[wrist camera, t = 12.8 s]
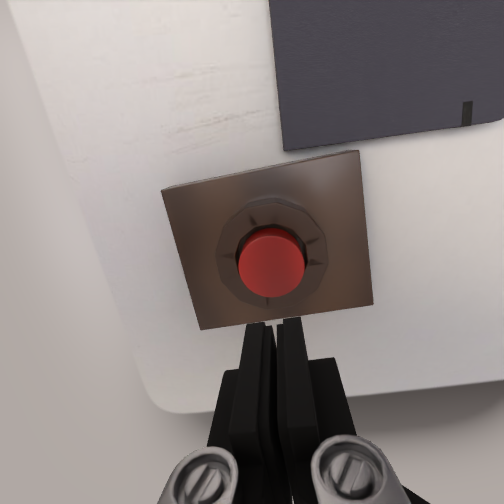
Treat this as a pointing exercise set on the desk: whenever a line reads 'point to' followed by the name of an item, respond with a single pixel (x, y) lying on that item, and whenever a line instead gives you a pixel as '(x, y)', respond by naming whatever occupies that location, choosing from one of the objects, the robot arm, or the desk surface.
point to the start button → (271, 263)
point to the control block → (281, 217)
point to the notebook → (385, 67)
